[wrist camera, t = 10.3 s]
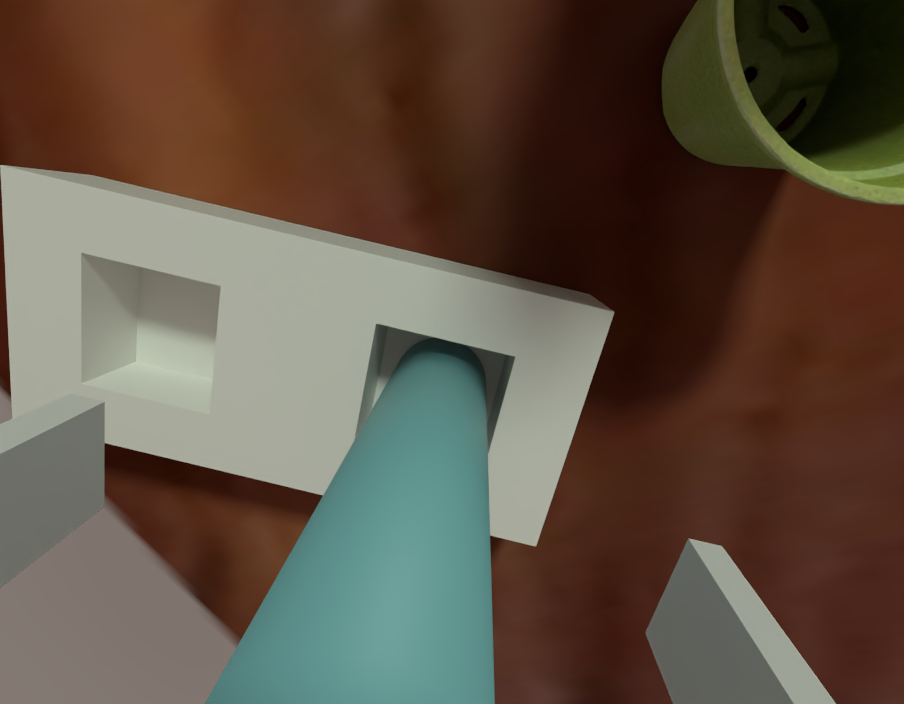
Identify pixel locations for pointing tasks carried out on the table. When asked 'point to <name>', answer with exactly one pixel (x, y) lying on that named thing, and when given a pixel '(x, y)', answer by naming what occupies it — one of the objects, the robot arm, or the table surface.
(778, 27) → the plant pot
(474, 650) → the teal pin
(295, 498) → the table surface
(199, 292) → the hole block
